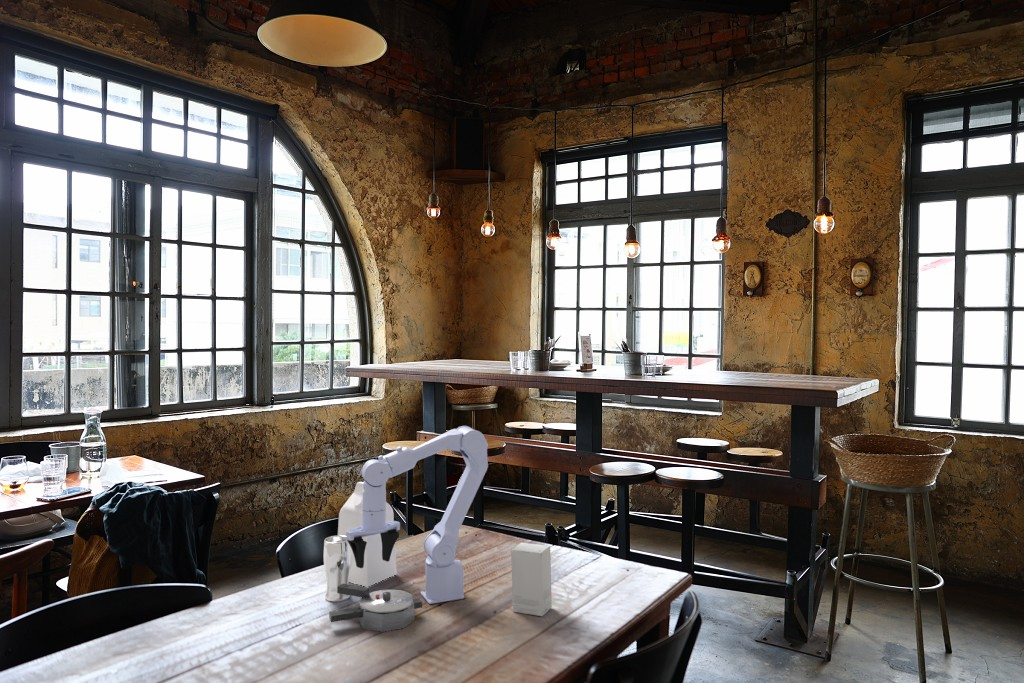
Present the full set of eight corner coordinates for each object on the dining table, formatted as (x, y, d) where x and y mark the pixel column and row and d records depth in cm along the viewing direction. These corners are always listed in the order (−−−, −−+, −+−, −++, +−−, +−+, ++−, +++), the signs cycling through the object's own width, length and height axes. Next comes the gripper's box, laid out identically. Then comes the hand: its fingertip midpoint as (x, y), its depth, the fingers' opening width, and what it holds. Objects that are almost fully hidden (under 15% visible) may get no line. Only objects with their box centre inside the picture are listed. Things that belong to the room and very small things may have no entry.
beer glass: (344, 603, 177) (344, 544, 177) (318, 601, 179) (318, 542, 178) (356, 593, 184) (356, 535, 184) (331, 591, 186) (331, 534, 185)
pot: (413, 605, 176) (413, 589, 176) (427, 624, 165) (427, 607, 165) (325, 619, 167) (325, 602, 167) (334, 640, 157) (334, 622, 156)
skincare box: (552, 608, 175) (552, 545, 175) (542, 618, 169) (542, 553, 169) (521, 602, 179) (521, 541, 178) (510, 612, 173) (510, 548, 172)
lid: (422, 597, 171) (422, 587, 171) (396, 616, 159) (396, 605, 159) (354, 586, 178) (354, 576, 178) (324, 604, 166) (324, 594, 166)
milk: (396, 575, 198) (396, 482, 198) (367, 587, 188) (367, 490, 188) (365, 567, 205) (365, 477, 204) (335, 578, 195) (335, 484, 194)
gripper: (389, 501, 184) (388, 553, 184) (339, 510, 173) (338, 565, 174) (405, 506, 179) (404, 560, 179) (355, 516, 168) (354, 573, 169)
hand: (373, 563), depth 176 cm, fingers open, 7 cm apart
